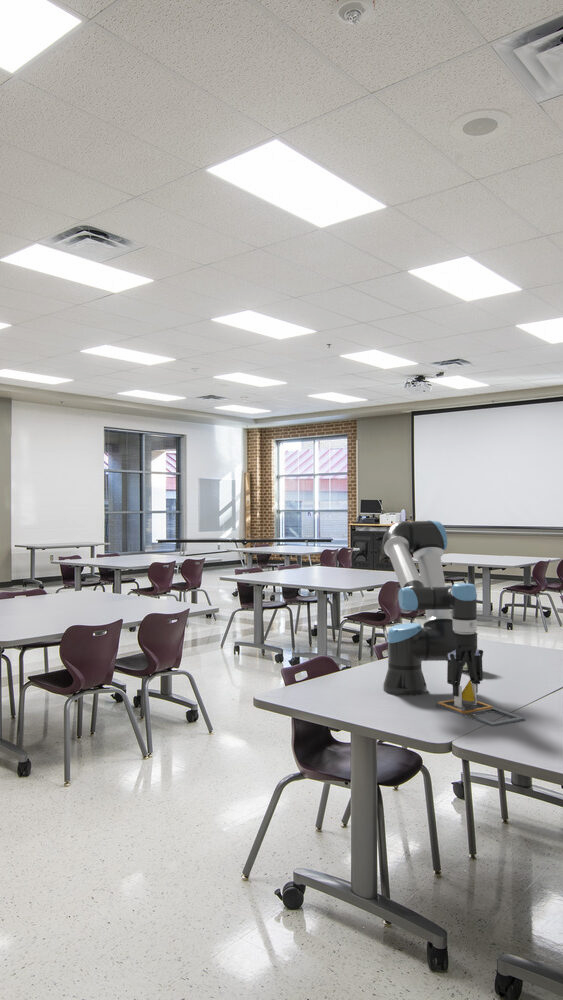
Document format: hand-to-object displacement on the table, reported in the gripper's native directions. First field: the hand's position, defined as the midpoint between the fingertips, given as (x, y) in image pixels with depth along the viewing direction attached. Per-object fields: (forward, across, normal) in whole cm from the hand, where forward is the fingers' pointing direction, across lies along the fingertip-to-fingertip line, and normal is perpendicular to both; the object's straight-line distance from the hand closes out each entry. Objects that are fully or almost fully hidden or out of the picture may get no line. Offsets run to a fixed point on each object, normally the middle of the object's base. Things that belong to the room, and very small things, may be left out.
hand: (465, 704), depth 216 cm
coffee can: (+1, +39, +44) cm, 59 cm away
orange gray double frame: (+1, 0, -6) cm, 6 cm away
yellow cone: (+1, 0, 0) cm, 1 cm away
